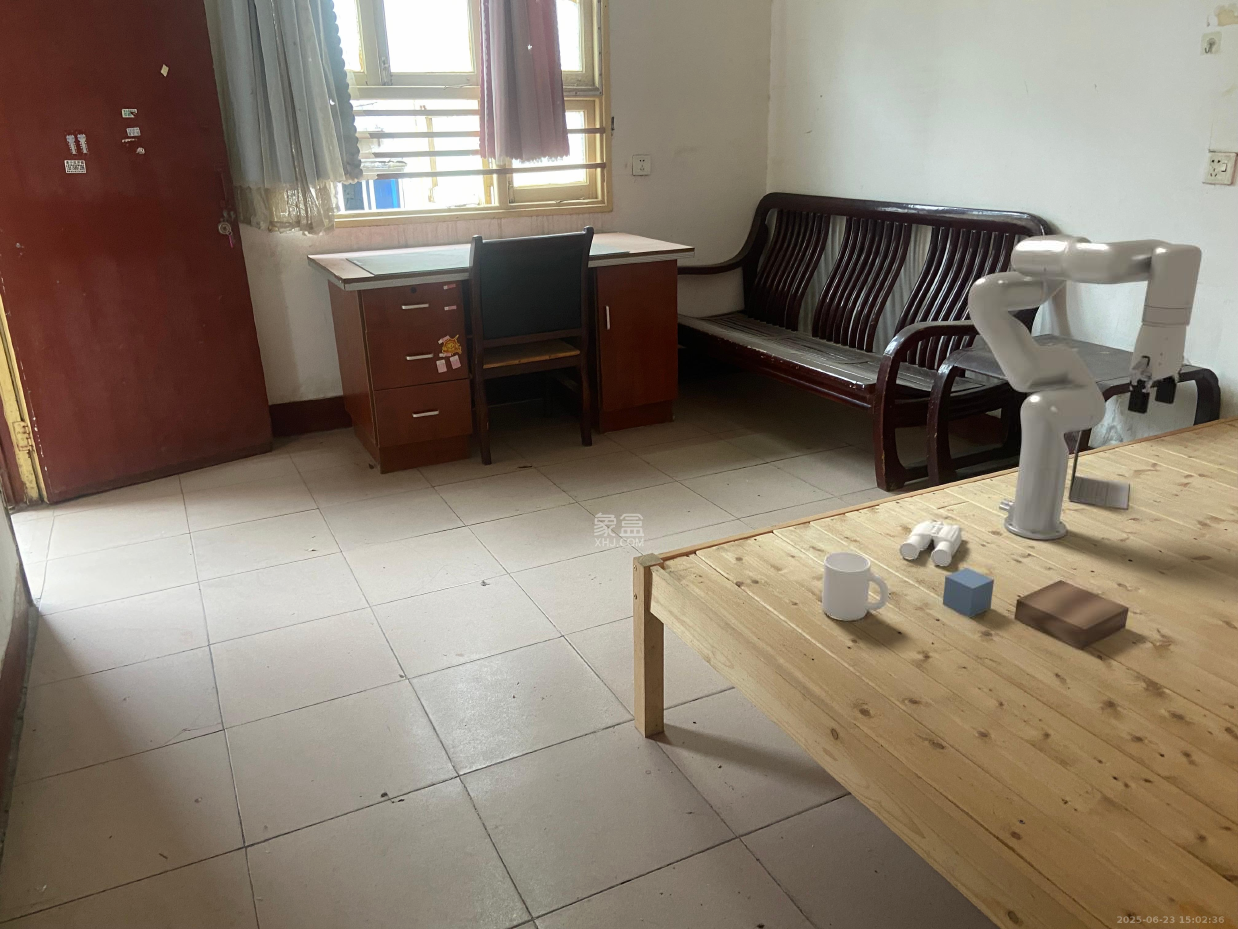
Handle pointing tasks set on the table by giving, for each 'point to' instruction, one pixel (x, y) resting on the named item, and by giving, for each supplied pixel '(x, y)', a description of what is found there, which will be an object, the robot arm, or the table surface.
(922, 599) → the table surface
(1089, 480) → the laptop
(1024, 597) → the walnut base
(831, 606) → the mug
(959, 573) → the slate cube
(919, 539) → the binoculars
